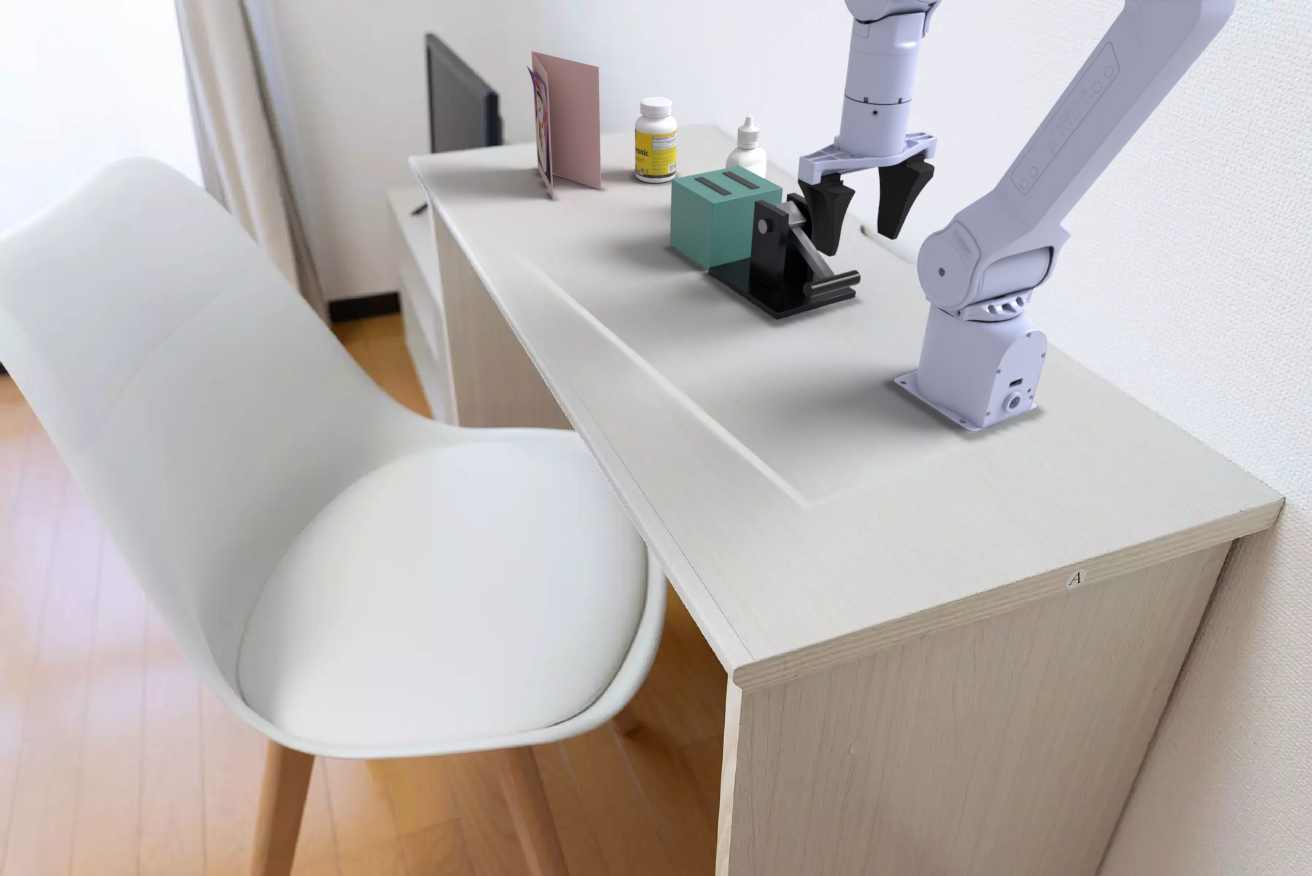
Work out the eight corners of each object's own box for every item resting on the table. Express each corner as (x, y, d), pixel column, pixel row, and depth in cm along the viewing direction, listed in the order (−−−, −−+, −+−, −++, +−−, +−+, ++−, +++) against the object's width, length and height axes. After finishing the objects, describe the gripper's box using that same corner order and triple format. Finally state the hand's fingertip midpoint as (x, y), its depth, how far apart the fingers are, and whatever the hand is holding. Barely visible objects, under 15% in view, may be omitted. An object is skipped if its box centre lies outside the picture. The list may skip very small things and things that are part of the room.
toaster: (776, 257, 107) (783, 186, 102) (709, 275, 103) (712, 202, 98) (735, 232, 112) (739, 164, 108) (669, 248, 108) (671, 178, 104)
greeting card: (531, 169, 129) (524, 51, 120) (585, 164, 131) (582, 48, 122) (546, 199, 120) (539, 75, 111) (604, 194, 122) (602, 71, 113)
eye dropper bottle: (771, 221, 115) (780, 119, 109) (728, 226, 114) (734, 124, 107) (756, 208, 119) (763, 109, 112) (713, 213, 117) (719, 113, 110)
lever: (854, 290, 95) (864, 274, 93) (806, 304, 92) (816, 287, 90) (798, 214, 99) (807, 196, 97) (751, 225, 96) (758, 207, 94)
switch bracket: (854, 301, 98) (867, 214, 93) (776, 324, 94) (784, 234, 89) (783, 258, 107) (791, 176, 101) (707, 277, 102) (712, 193, 97)
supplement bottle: (629, 171, 129) (629, 96, 123) (668, 168, 130) (670, 93, 125) (641, 185, 125) (642, 108, 119) (681, 181, 126) (683, 105, 120)
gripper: (907, 74, 89) (885, 215, 97) (782, 95, 82) (769, 244, 90) (964, 93, 84) (936, 239, 92) (836, 117, 78) (817, 272, 85)
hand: (856, 244), depth 91 cm, fingers open, 7 cm apart
